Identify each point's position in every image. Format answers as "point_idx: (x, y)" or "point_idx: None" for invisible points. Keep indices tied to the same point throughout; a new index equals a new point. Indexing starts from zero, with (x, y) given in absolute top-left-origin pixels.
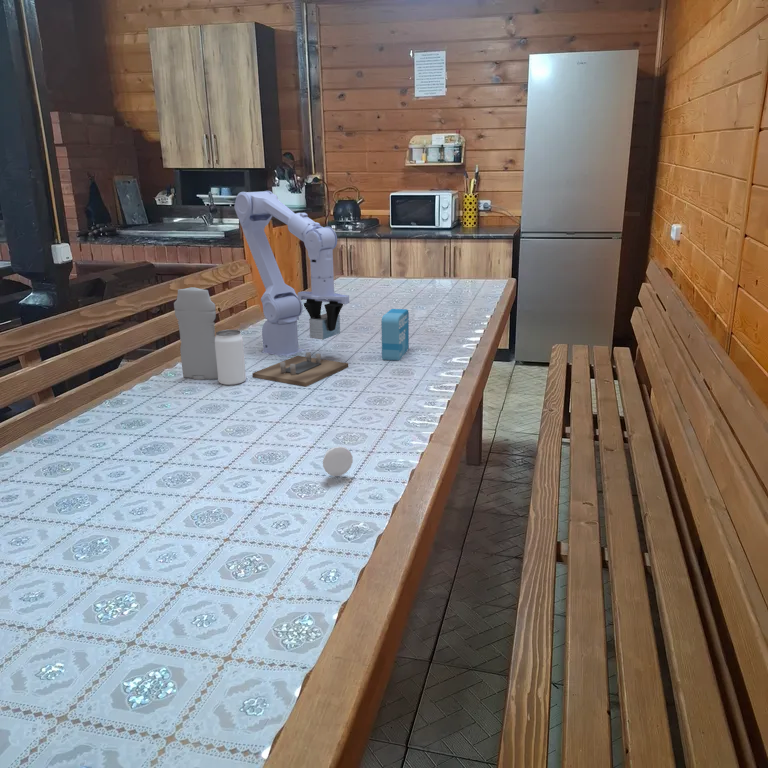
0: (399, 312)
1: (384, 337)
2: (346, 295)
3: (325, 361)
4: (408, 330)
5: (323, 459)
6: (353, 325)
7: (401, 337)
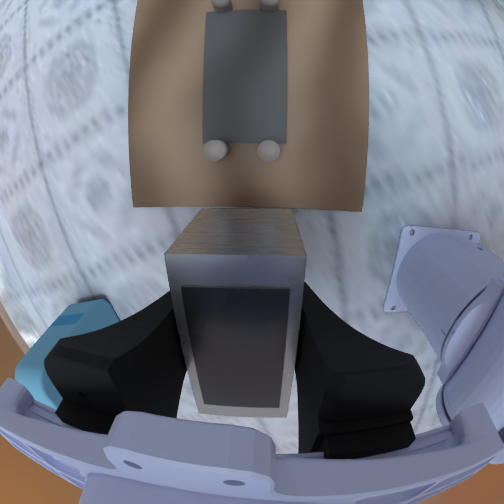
0: None
1: (62, 335)
2: (23, 452)
3: (215, 187)
4: None
5: None
6: None
7: None
